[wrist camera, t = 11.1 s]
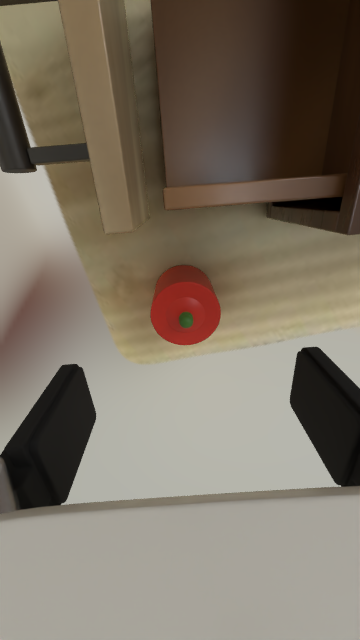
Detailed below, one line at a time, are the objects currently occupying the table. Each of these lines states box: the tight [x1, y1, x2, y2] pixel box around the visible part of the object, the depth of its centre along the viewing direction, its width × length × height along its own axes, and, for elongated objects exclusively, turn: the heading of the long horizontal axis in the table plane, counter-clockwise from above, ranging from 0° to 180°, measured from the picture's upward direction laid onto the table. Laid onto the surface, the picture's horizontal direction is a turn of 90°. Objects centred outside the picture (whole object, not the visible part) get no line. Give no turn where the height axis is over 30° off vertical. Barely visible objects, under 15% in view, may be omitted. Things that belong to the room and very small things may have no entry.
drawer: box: [0, 0, 360, 234], centre depth 11 cm, size 17×11×7 cm, turn 94°
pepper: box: [151, 265, 221, 345], centre depth 17 cm, size 5×5×6 cm
